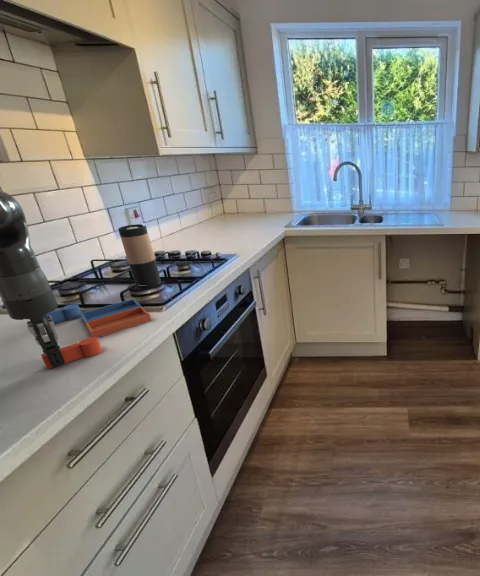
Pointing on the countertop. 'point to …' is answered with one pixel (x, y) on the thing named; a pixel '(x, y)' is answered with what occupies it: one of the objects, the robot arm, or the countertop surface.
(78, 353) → the orange elongated piece
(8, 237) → the robot arm
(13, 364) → the countertop surface
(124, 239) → the travel mug
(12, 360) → the countertop surface
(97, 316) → the blue tray
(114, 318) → the terracotta tray
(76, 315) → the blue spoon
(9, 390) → the countertop surface
